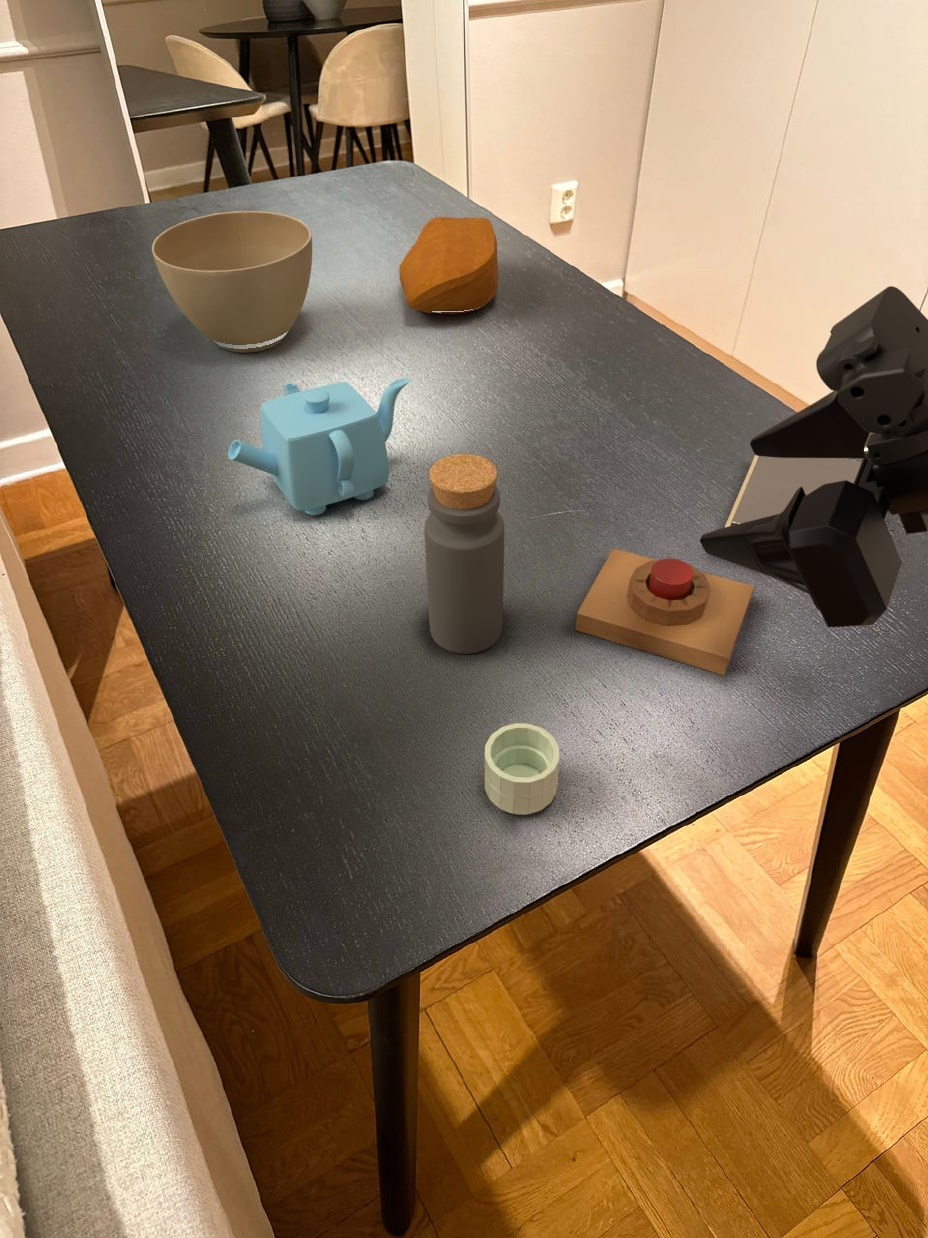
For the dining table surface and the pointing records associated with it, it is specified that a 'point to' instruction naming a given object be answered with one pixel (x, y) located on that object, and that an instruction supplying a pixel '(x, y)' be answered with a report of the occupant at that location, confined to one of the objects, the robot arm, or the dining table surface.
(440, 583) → the bottle
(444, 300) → the bread
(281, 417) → the teapot
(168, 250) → the deep tan bowl
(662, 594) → the tare button
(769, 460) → the pan
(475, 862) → the dining table surface
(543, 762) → the mint green cup
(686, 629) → the block
